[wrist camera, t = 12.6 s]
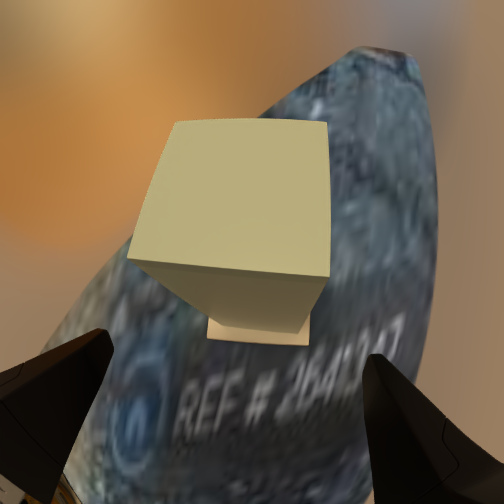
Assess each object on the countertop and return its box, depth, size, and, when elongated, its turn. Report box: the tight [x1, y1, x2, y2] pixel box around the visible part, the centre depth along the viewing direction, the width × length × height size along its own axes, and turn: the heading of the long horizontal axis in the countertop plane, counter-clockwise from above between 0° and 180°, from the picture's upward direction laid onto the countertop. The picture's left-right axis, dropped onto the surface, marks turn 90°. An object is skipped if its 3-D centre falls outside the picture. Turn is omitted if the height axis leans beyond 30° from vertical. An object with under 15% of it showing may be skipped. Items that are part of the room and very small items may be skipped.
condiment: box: [24, 474, 81, 504], centre depth 8 cm, size 7×8×12 cm
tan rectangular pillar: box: [127, 118, 331, 334], centre depth 14 cm, size 5×5×13 cm
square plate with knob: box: [207, 314, 310, 346], centre depth 18 cm, size 7×7×4 cm
